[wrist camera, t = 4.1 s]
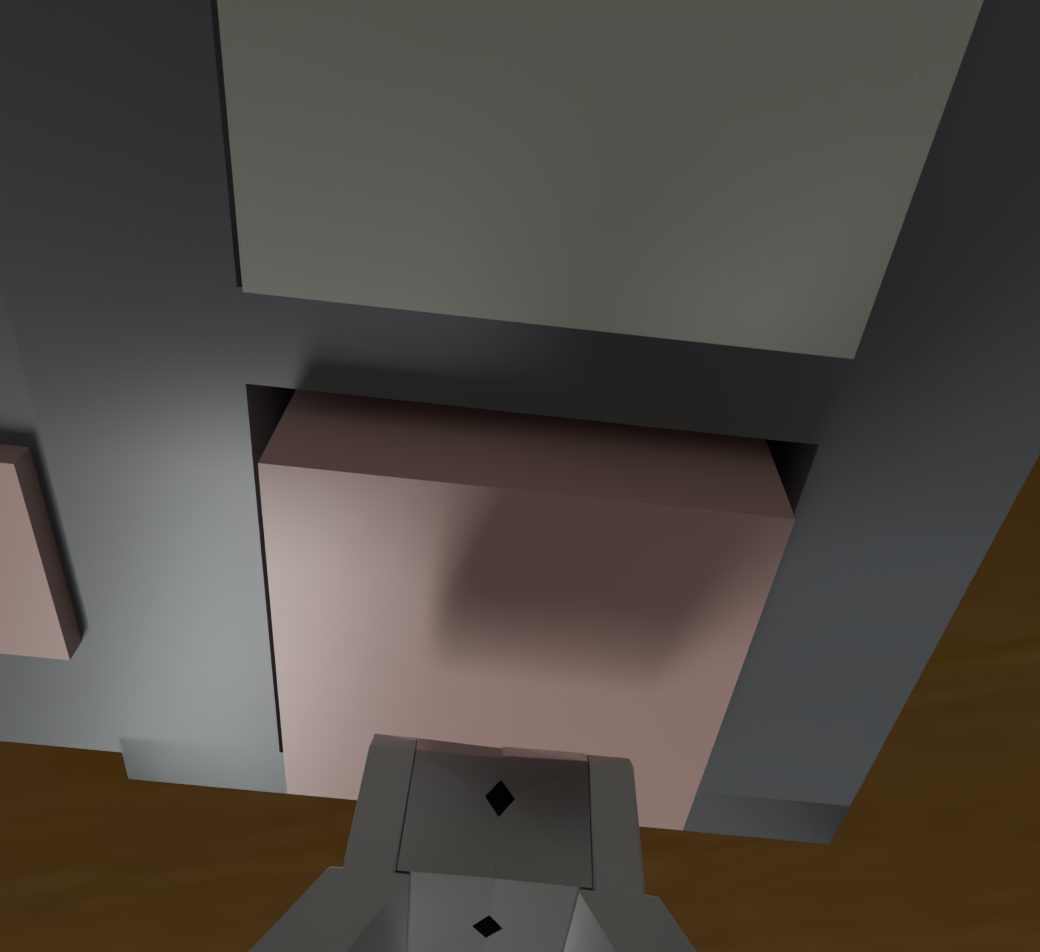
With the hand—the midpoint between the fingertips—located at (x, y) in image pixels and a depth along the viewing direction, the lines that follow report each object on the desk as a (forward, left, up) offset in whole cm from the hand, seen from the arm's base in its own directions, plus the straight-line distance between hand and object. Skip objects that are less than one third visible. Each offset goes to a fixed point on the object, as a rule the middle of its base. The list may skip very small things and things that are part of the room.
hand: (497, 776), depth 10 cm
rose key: (0, 0, -3) cm, 3 cm away
